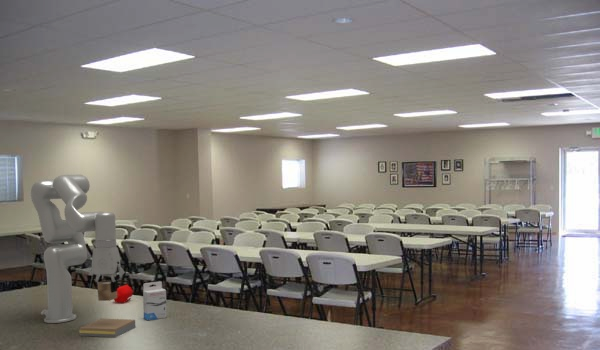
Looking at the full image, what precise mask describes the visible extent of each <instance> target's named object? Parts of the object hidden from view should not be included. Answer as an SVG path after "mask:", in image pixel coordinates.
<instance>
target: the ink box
mask: <svg viewBox="0 0 600 350" xmlns="http://www.w3.org/2000/svg"><path fill="white" fill-rule="evenodd" d="M152 285H153V286H152ZM142 286H143V291H142V293H143V294H142V295H143V297H142V299H143V300H142V302H143V303H142V304H143V319H144V320H146V321H152V320H158V319H164V318H165V319H166V318H167V290H166V289H165V288H163V282H162V281H153V282H145V283H143V285H142Z"/></svg>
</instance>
